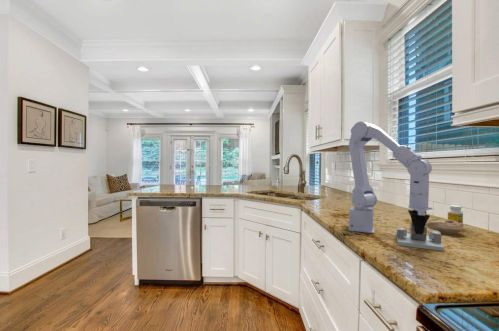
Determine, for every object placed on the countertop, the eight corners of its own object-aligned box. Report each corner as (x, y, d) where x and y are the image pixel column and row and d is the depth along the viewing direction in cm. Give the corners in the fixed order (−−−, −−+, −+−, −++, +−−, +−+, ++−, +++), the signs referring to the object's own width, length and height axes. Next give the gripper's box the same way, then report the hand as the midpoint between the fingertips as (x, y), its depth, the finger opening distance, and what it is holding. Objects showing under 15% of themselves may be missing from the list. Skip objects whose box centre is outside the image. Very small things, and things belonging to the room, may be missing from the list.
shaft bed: (398, 245, 94) (398, 232, 94) (395, 235, 106) (395, 223, 106) (444, 251, 88) (444, 237, 88) (435, 239, 101) (435, 227, 101)
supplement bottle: (450, 225, 124) (451, 204, 123) (464, 228, 119) (465, 206, 119) (445, 227, 121) (445, 205, 120) (459, 230, 116) (460, 207, 116)
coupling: (411, 238, 96) (411, 225, 96) (409, 235, 100) (409, 223, 100) (426, 240, 94) (426, 227, 94) (424, 237, 98) (424, 224, 98)
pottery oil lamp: (423, 227, 117) (429, 213, 118) (455, 241, 112) (462, 226, 113) (427, 224, 110) (433, 209, 111) (462, 239, 104) (469, 222, 105)
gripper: (436, 197, 89) (435, 239, 89) (428, 192, 102) (427, 228, 102) (411, 195, 92) (410, 236, 92) (406, 191, 105) (405, 226, 105)
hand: (417, 232), depth 97 cm, fingers closed on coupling, 5 cm apart
